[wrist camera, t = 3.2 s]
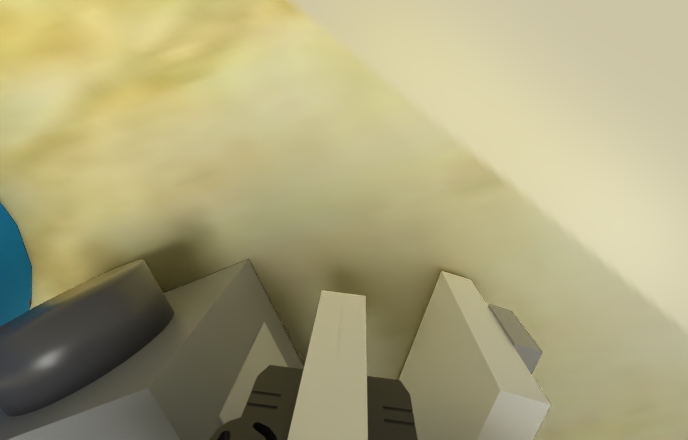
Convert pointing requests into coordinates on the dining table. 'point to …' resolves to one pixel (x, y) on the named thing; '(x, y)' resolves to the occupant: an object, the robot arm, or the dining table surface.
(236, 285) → the camera body
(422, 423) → the side door
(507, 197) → the dining table surface
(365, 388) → the robot arm
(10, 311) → the thermos
